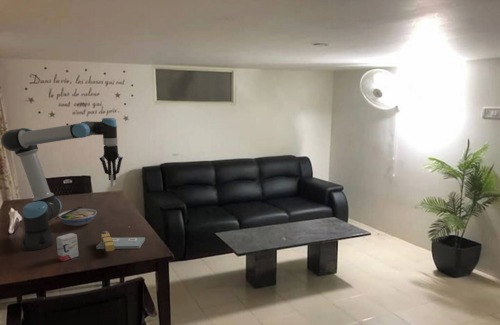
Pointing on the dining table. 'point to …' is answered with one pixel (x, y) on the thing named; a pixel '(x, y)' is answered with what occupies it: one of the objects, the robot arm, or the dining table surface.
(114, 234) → the dining table surface
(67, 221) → the ramen bowl
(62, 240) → the ink box
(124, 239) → the power panel
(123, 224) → the dining table surface
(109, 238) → the banded tan post
